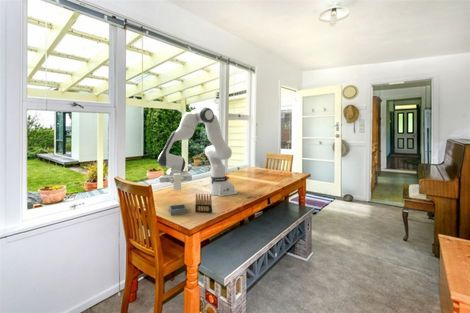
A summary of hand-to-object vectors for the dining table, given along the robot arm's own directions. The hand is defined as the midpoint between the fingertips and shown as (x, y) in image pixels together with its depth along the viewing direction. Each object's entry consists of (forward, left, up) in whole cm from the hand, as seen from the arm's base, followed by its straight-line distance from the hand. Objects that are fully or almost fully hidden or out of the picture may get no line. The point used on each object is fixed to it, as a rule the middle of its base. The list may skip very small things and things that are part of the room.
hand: (177, 180), depth 155 cm
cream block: (0, -1, -6) cm, 6 cm away
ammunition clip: (-15, +6, -20) cm, 26 cm away
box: (0, -1, -20) cm, 20 cm away
